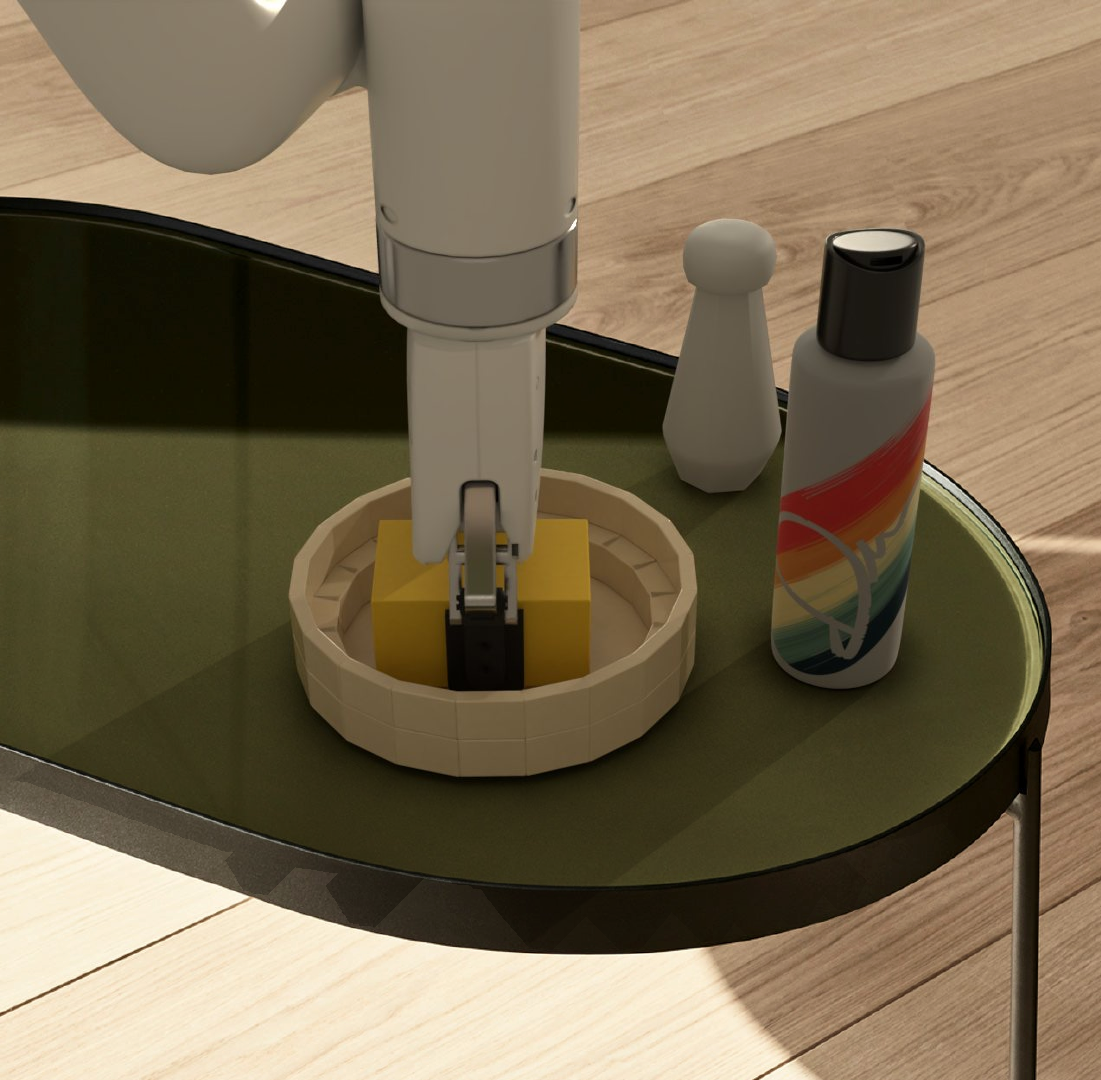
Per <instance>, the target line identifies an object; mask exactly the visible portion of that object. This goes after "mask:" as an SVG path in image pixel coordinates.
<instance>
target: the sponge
mask: <svg viewBox="0 0 1101 1080" xmlns="http://www.w3.org/2000/svg"><path fill="white" fill-rule="evenodd" d="M498 544H508V537H507V535H506V533H496V545H498ZM458 545H464V533H459V531H458ZM447 556H448V552H447V554H446V556H445V558H444V560H443V562H442V563H428V565H422V564H421V563H420V562H419V561H417V560H416V558H415V557H414V556H413V552H412V520H380V521H379V528H378V538H377V548H376V557H375V567H374V577H373V586H372V596H371V611H372V625H373V639H374V653H375V667H376V670H378V671H380V672H382V673H384V674H386V675H389V676H391V677H393V678H395V679H397V680H401V681H406V682H411V683H416V684H421V685H427V686H432V687H448V678H447V655H446V631H445V609H450V607H449V561H448V558H447ZM462 567H463V587H465V565H462ZM496 581H497V587H503V591H504V565H496ZM517 609H524V686H545V685H550V684H554V683H559V682H564V681H568V680H573V679H578V678H582V677H584V676H586V675H589V674H590V631H591V590H590V564H589V538H588V521H587V519H536V527H535V535H534V544H533V553H532V555H531V556H530V557H529V558H528V559H527V560H526V561H524V562H523V563H521V564H519V559H518V560H517Z"/></svg>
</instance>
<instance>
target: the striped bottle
mask: <svg viewBox="0 0 1101 1080" xmlns="http://www.w3.org/2000/svg"><path fill="white" fill-rule="evenodd" d="M823 246H824V247H823V256H822V267H821V277H820V285H819V286H820V287H819V295H818V296H819V297H818V308H817V317H816V324H814V325H812V326H810V327H809V328H807V329H806V330H804V331H803V332H802V333H800V335H799V336H798V337H797V339H796V340H795V342H794V345H793V347H792V353H791V360H790V361H791V362H790V369H789V370H790V371H789V383H788V397H787V409H786V422H785V423H786V424H785V434H784V435H785V436H784V450H783V461H782V463H783V464H782V474H781V475H782V476H781V491H780V500H779V501H780V502H779V516H778V529H777V542H776V555H775V568H774V569H775V570H774V581H773V582H774V583H773V594H772V595H773V597H772V610H771V627H770V629H771V631H770V642H771V643H770V645H771V651H772V655H773V657H774V659H775V661H776V662H777V664H778V665H779V666H780V668H781V669H783V670H784V672H786V673H787V674H788V675H790V676H791V677H792V678H794V679H796V680H798V681H800V682H803V683H806V684H809V685H811V686H816V687H820V688H826V689H838V690H839V689H841V690H842V689H843V690H844V689H845V690H847V689H853V688H860V687H863V686H866V685H870V684H872V683H875V682H876V681H879V680H880V679H881V678H883V677H884V676H886V675H887V674H888V673H889V672H890V671H891V670H892V668H893V667H894V665H895V663H896V661H897V658H898V655H899V649H900V647H901V646H900V644H901V639H902V634H903V633H902V632H903V626H904V619H905V610H906V602H907V595H908V587H909V579H910V571H911V563H912V556H913V547H914V541H915V540H914V539H915V532H916V524H917V516H918V508H919V500H920V493H921V492H920V491H921V485H922V478H923V477H922V476H923V471H924V470H923V468H924V462H925V453H926V446H927V438H928V437H927V436H928V429H929V422H930V416H931V415H930V414H931V406H932V398H933V389H934V381H935V373H936V354H935V349H934V347H933V346H932V344H931V343H930V341H929V340H928V339H927V338H926V337H925V336H924V335H922V333H920V332H918V321H919V312H920V304H921V303H920V302H921V293H922V284H923V283H922V282H923V274H924V264H925V256H926V243H925V240H924V238H923V237H922V236H921V235H920V234H919V233H917V232H916V231H914V230H910V229H906V228H900V227H868V228H867V227H866V228H856V229H847V230H842V231H836V232H833V233H830V234H829V235H827V237H826V238H825V240H824V245H823Z"/></svg>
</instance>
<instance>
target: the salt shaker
mask: <svg viewBox="0 0 1101 1080" xmlns="http://www.w3.org/2000/svg"><path fill="white" fill-rule="evenodd" d="M777 255H778V254H777V246H776V242H775V240H774V238H773V236H772V234H771V233H769V232H768V231H767V230H766V229H765V228H763V226H760V225H759V224H757V223H755V222H752V221H749V220H744V219H740V218H718V219H712V220H708V221H706V222H704V223H702V224H700V225H698V226H696V227H695V228H694V229H692V230H691V231H690V233H689V234H688V236H687V238H686V239H685V242H684V247H683V251H682V267H683V271H684V274H685V277H686V279H687V283H689V284H691V285H692V286H694V294H693V297H692V304H691V307H690V312H689V315H688V320H687V324H686V327H685V332H684V336H683V341H682V344H681V348H680V353H679V357H678V360H677V364H676V369H675V373H674V377H673V381H672V384H671V389H670V394H669V398H668V401H667V407H666V410H665V415H664V417H663V418H664V419H663V422H662V434H663V439H664V442H665V445H666V448H667V450H668V453H669V456H670V458H671V460H672V463H673V465H674V467H675V470H676V472H677V475H678V477H679V479H680V480H681V481H683V482H685V483H687V484H689V485H691V486H693V487H695V488H697V489H699V490H701V491H703V492H705V493H707V494H714V493H715V494H716V493H727V492H740V491H745V490H747V488H748V487H749V486H750V485H751V484H752V483H753V482H754V481H755V480H756V479H757V478H758V477H759V476H760V474H761V473H762V472H763V470H764V468H765V466H766V465H767V463H768V462H769V459H770V458H771V457H772V455H773V454H774V452H775V450H776V448H777V446H778V443H779V442H780V439H781V435H782V431H783V430H782V423H781V416H780V409H779V401H778V394H777V387H776V379H775V371H774V366H773V364H774V363H773V358H772V350H771V342H770V336H769V329H768V321H767V314H766V306H765V300H764V299H765V298H764V291H763V288H764V287H766V286H767V285H768V284H769V282H770V280H771V279H772V277H773V275H774V273H775V270H776V266H777V260H778V259H777V258H778V256H777Z"/></svg>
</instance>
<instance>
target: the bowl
mask: <svg viewBox="0 0 1101 1080" xmlns="http://www.w3.org/2000/svg"><path fill="white" fill-rule="evenodd" d="M536 519H587V521H588V538H589V564H590V590H591V631H590V674H589V675H586V676H584V677H582V678H578V679H573V680H568V681H564V682H559V683H554V684H550V685H545V686H524V688H523V690H522V691H453V690H449V688H448V687H432V686H427V685H421V684H416V683H411V682H406V681H401V680H397V679H395V678H393V677H391V676H389V675H386V674H384V673H382V672H380V671H378V670H376V667H375V653H374V639H373V625H372V611H371V596H372V586H373V577H374V567H375V557H376V548H377V538H378V528H379V521H380V520H412V506H411V477H410V476H409V477H406V478H403V479H400V480H398V481H396V482H393V483H390V484H388V485H385V486H383V487H380V488H377V489H375V490H373V491H369V492H368V493H365V494H362V495H359V497H356V498H355V499H353V500H352V501H351V502H350V503H348V504H346V505H344V507H342V508H341V509H339V510H337V512H335V513H334V514H332V515H331V516H330V517H328V518H327V519H325V520H324V521H322V522H321V523H320V524H318V525H317V527H316V528H315V529H314V530H313V532H312V533H311V535H310V536H309V537H308V539H307V540H306V541H305V543H304V544H303V546H302V547H301V548H300V550H299V551H298V553H297V554H296V556H295V557H294V559H293V564H292V569H291V576H290V582H289V590H288V596H287V597H288V605H289V615H290V622H291V623H290V624H291V631H292V640H293V648H294V658H295V666H296V671H297V673H298V676H299V679H300V681H301V683H302V686H303V689H304V692H305V695H306V697H307V700H308V702H309V705H310V706H311V708H312V709H313V710H314V711H315V712H317V714H318V715H320V716H321V717H322V719H323V720H324V721H326V723H328V724H329V725H330V726H331V728H333V729H334V730H335V731H336V732H337V733H338V734H339V735H340V736H341V737H342V738H343V739H344V740H345V741H347V742H348V743H351V744H353V745H355V746H357V747H359V748H361V749H363V750H366V751H367V752H370V753H372V754H374V755H376V756H378V757H380V758H382V759H384V760H386V761H388V762H390V763H393V764H395V765H398V766H402V767H407V768H412V769H418V770H422V771H427V772H431V773H437V774H442V775H447V776H451V777H456V778H459V777H461V778H463V777H464V778H465V777H466V778H467V777H469V778H472V777H474V778H476V777H526V776H532V775H538V774H543V773H546V772H547V773H548V772H552V771H555V770H559V769H564V768H569V767H573V766H577V765H582V764H587V763H590V762H593V761H595V760H598V759H599V758H601V757H603V756H605V755H607V754H610V753H611V752H613V751H615V750H618V749H619V748H622V747H623V746H625V745H627V744H629V743H631V742H633V741H635V740H637V739H639V738H642V736H644V735H645V734H646V733H647V732H648V731H649V730H650V729H651V728H652V727H654V725H655V724H656V723H658V722H659V721H660V720H661V719H662V718H663V717H664V716H666V714H667V713H668V712H669V711H670V710H671V709H672V708H673V707H674V706H675V705H676V704H677V703H678V702H679V701H680V699H681V696H682V694H683V691H684V689H685V686H686V684H687V682H688V679H689V677H690V675H691V672H692V671H693V667H694V665H695V659H696V658H695V655H696V636H697V635H696V633H697V631H696V630H697V613H698V612H697V610H698V592H699V591H698V581H697V573H696V563H695V555H694V553H693V551H692V550H691V548H690V547H689V545H688V544H687V542H686V541H685V540H684V538H683V537H682V535H681V534H680V532H679V530H678V529H677V528H676V526H675V525H674V523H673V522H672V521H671V520H670V519H669V518H668V517H666V516H665V515H664V514H662V513H661V512H660V511H658V510H656V509H655V508H653V507H652V506H651V505H649V504H648V503H647V502H645V501H644V500H643V499H641V498H639V497H638V496H637V495H635V494H634V493H632V492H630V491H627V490H624V489H622V488H619V487H617V486H614V485H611V484H609V483H606V482H603V481H600V480H598V479H595V478H592V477H589V476H587V475H584V474H581V473H575V472H569V471H564V470H556V469H551V468H543V467H541V475H540V487H539V497H538V507H537V517H536Z"/></svg>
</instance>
